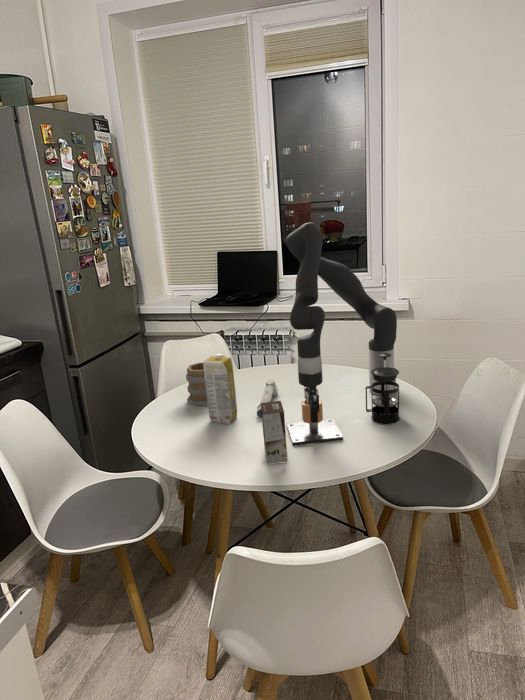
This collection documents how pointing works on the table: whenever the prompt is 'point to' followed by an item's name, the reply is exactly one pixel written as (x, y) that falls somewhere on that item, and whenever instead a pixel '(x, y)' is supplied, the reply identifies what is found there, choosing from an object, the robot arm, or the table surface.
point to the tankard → (196, 385)
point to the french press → (384, 395)
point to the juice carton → (220, 389)
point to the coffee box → (274, 432)
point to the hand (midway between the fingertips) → (312, 417)
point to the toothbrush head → (267, 394)
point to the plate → (314, 432)
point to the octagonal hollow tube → (306, 412)
